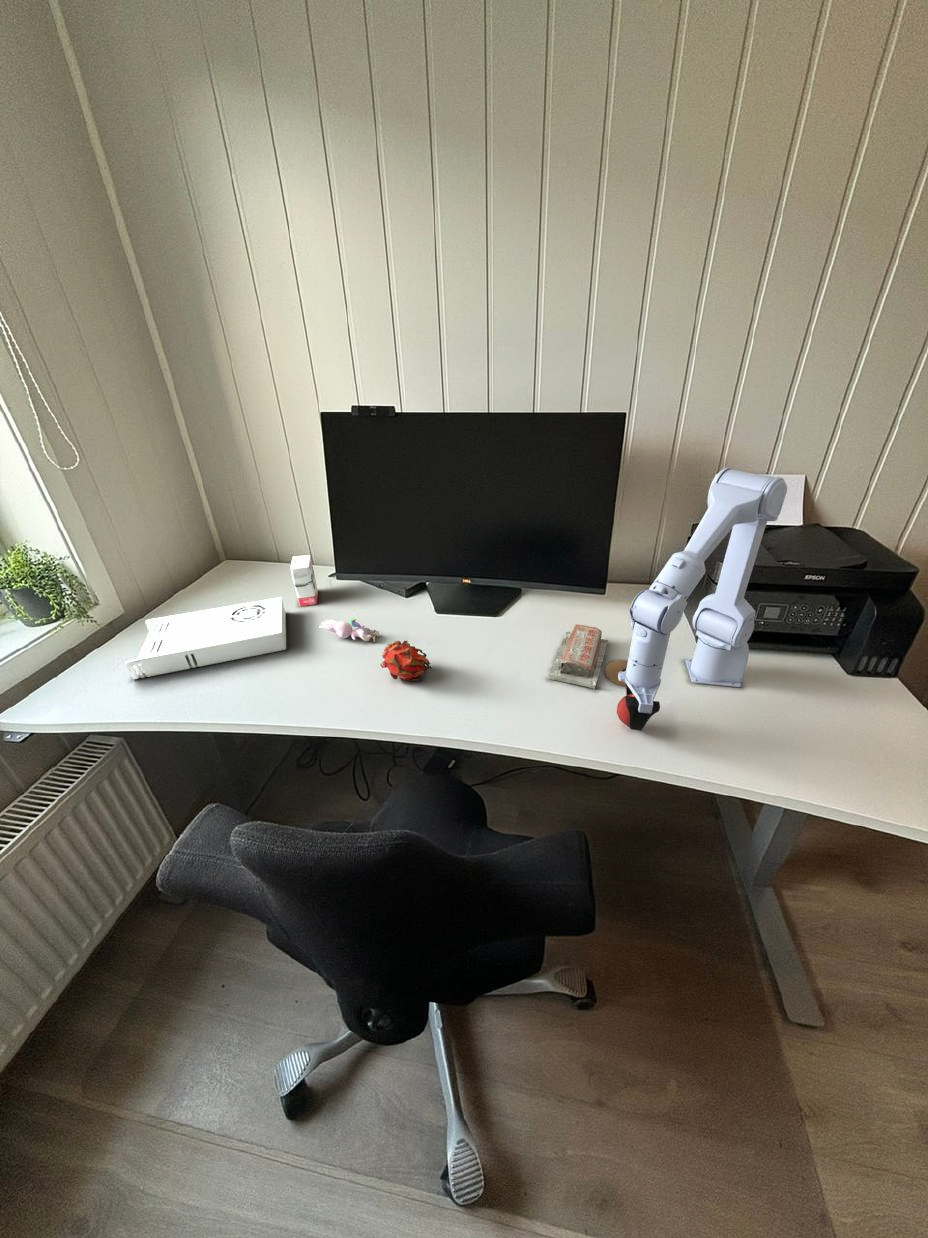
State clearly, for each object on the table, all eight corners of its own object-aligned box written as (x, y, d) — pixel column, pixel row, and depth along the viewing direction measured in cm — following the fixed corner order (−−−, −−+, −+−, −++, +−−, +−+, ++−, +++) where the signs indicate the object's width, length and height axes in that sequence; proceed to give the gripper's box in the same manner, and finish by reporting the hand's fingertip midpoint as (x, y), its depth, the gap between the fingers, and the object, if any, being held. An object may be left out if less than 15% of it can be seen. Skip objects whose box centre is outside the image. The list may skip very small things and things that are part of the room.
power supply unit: (152, 636, 123) (144, 620, 120) (285, 612, 131) (281, 596, 129) (133, 680, 108) (124, 662, 105) (286, 649, 116) (281, 632, 113)
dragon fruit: (384, 670, 110) (429, 689, 107) (366, 671, 102) (415, 691, 98) (396, 635, 110) (442, 653, 106) (379, 633, 102) (429, 652, 98)
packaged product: (567, 619, 114) (610, 627, 111) (565, 636, 117) (607, 644, 114) (549, 662, 100) (597, 671, 97) (547, 680, 103) (595, 690, 99)
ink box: (317, 604, 135) (309, 566, 129) (299, 606, 134) (289, 568, 128) (318, 590, 142) (310, 553, 136) (301, 593, 141) (292, 556, 135)
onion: (640, 715, 93) (647, 682, 89) (651, 736, 88) (659, 702, 84) (610, 716, 93) (616, 683, 89) (619, 737, 88) (626, 703, 84)
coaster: (646, 663, 107) (646, 662, 106) (650, 689, 99) (651, 688, 99) (604, 659, 108) (604, 658, 108) (605, 684, 101) (605, 683, 101)
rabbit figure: (381, 637, 122) (326, 624, 123) (382, 617, 119) (325, 604, 120) (372, 651, 117) (314, 637, 118) (372, 631, 113) (313, 617, 115)
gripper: (619, 631, 89) (610, 689, 96) (625, 680, 77) (614, 741, 84) (659, 635, 87) (647, 693, 94) (672, 685, 75) (656, 747, 82)
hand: (634, 716), depth 89 cm, fingers closed on onion, 6 cm apart
